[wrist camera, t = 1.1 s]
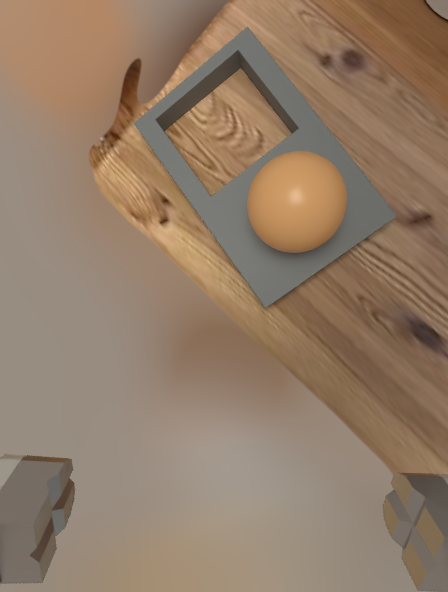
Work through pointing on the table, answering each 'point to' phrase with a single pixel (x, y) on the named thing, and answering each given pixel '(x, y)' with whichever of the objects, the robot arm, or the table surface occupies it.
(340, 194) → the ball
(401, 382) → the table surface
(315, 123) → the deck
